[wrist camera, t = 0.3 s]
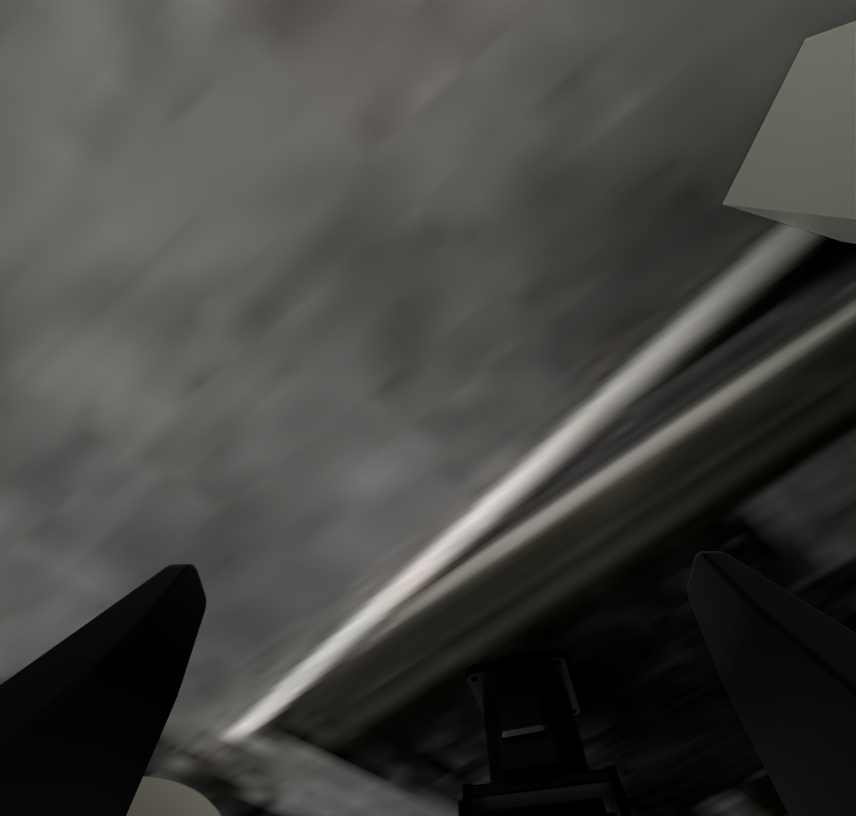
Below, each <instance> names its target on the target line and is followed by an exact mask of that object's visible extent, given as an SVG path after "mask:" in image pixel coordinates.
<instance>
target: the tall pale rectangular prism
mask: <svg viewBox="0 0 856 816" xmlns="http://www.w3.org/2000/svg"><path fill="white" fill-rule="evenodd" d="M722 204H723V205H726V206H729V207H732V208H735V209H739V210H742V211H745V212H748V213H752V214H755V215H758V216H761V217H765V218H768V219H771V220H774V221H777V222H781V223H784V224H787V225H790V226H794V227H797V228H800V229H803V230H807V231H810V232H813V233H816V234H819V235H823V236H826V237H829V238H832V239H836V240H839V241H843V242H848V243H854V244H856V21H853V22H850V23H848V24H845V25H842V26H839V27H836V28H833V29H831V30H828V31H825V32H822V33H819V34H817V35H814V36H811V37H808V38H805V40H804V42H803V44H802V46H801V48H800V50H799V52H798V54H797V56H796V58H795V60H794V62H793V64H792V66H791V68H790V70H789V72H788V74H787V76H786V78H785V80H784V82H783V84H782V86H781V88H780V90H779V92H778V94H777V96H776V98H775V100H774V102H773V104H772V106H771V108H770V110H769V112H768V114H767V116H766V118H765V120H764V122H763V124H762V126H761V128H760V130H759V132H758V134H757V136H756V138H755V140H754V142H753V144H752V146H751V148H750V150H749V152H748V154H747V156H746V158H745V160H744V162H743V164H742V166H741V168H740V170H739V171H738V173H737V175H736V177H735V179H734V181H733V183H732V185H731V187H730V189H729V191H728V193H727V195H726V197H725V199H724V201H723V203H722Z"/></svg>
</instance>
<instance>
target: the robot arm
mask: <svg viewBox="0 0 856 816" xmlns="http://www.w3.org/2000/svg"><path fill="white" fill-rule="evenodd" d="M687 592H688V597H689V601H690V603H691V606H692V608H693V611H694V613H695V616H696V619H697V621H698V624H699V626H700V629H701V631H702V634H703V636H704V639H705V641H706V644H707V646H708V649H709V651H710V654H711V657H712V659H713V662H714V664H715V667H716V669H717V672H718V674H719V676H720V679H721V681H722V683H723V686H724V688H725V690H726V692H727V694H728V696H729V698H730V700H731V702H732V704H733V706H734V708H735V710H736V712H737V714H738V716H739V718H740V720H741V722H742V724H743V726H744V728H745V730H746V732H747V734H748V736H749V738H750V740H751V742H752V743H753V745H754V747H755V749H756V751H757V753H758V755H759V757H760V759H761V761H762V763H763V765H764V767H765V769H766V771H767V773H768V775H769V777H770V779H771V781H772V783H773V785H774V787H775V788H776V790H777V792H778V794H779V796H780V798H781V800H782V802H783V804H784V806H785V808H786V810H787V812H788V814H789V816H856V633H854V632H852V631H851V630H849V629H848V628H846V627H844V626H843V625H841V624H840V623H838V622H836V621H835V620H833V619H831V618H830V617H828V616H827V615H825V614H823V613H822V612H820V611H819V610H817V609H815V608H814V607H812V606H810V605H809V604H807V603H806V602H804V601H802V600H801V599H799V598H798V597H796V596H794V595H793V594H791V593H789V592H788V591H786V590H785V589H783V588H781V587H780V586H778V585H777V584H775V583H773V582H772V581H770V580H769V579H767V578H765V577H764V576H762V575H760V574H759V573H757V572H756V571H754V570H752V569H751V568H749V567H748V566H746V565H744V564H743V563H741V562H739V561H738V560H736V559H735V558H733V557H731V556H730V555H728V554H726V553H724V552H719V551H718V552H700V553H698V554H697V555H696V557H695V560H694V563H693V567H692V571H691V574H690V578H689V582H688V586H687ZM205 609H206V595H205V592H204V589H203V586H202V583H201V580H200V577H199V574H198V571H197V569H196V567H195V566H194V565H191V564H174V565H170V566H168V567H166V568H164V569H163V570H162V571H160V572H159V573H157V574H156V575H154V576H153V577H152V578H150V579H149V580H147V581H146V582H145V583H143V584H142V585H140V586H139V587H138V588H136V589H135V590H133V591H132V592H131V593H129V594H128V595H126V596H125V597H124V598H122V599H121V600H119V601H118V602H116V603H115V604H114V605H112V606H111V607H109V608H108V609H107V610H105V611H104V612H102V613H101V614H100V615H98V616H97V617H95V618H94V619H93V620H91V621H90V622H88V623H87V624H85V625H84V626H83V627H81V628H80V629H78V630H77V631H76V632H74V633H73V634H71V635H70V636H69V637H67V638H66V639H64V640H63V641H62V642H60V643H59V644H57V645H56V646H55V647H53V648H52V649H50V650H49V651H47V652H46V653H45V654H43V655H42V656H40V657H39V658H38V659H36V660H35V661H33V662H32V663H31V664H29V665H28V666H26V667H25V668H24V669H22V670H21V671H19V672H18V673H16V674H15V675H14V676H12V677H11V678H9V679H8V680H7V681H5V682H4V683H2V684H1V685H0V816H126V814H127V812H128V810H129V808H130V805H131V803H132V801H133V798H134V796H135V793H136V791H137V789H138V787H139V784H140V782H141V780H142V777H143V775H144V773H145V770H146V768H147V766H148V763H149V761H150V759H151V757H152V754H153V752H154V750H155V747H156V745H157V743H158V740H159V738H160V736H161V733H162V731H163V729H164V726H165V724H166V722H167V719H168V717H169V715H170V712H171V710H172V708H173V705H174V703H175V700H176V698H177V695H178V692H179V689H180V687H181V684H182V681H183V678H184V675H185V672H186V668H187V665H188V662H189V659H190V656H191V653H192V650H193V647H194V643H195V640H196V637H197V634H198V631H199V628H200V625H201V622H202V619H203V615H204V612H205ZM466 675H467V682H468V684H469V686H470V688H471V690H472V693H473V695H474V697H475V699H476V701H477V703H478V706H479V708H480V710H481V712H482V714H483V716H484V719H485V729H486V739H487V749H488V759H489V769H490V779H491V783H488V784H480V785H473V784H464V785H463V799H462V800H461V801H460V802H458V813H459V816H632V813H631V810H630V807H629V804H628V801H627V799H626V796H625V793H624V790H623V787H622V784H621V781H620V779H619V776H618V773H617V770H616V767H615V766H607V767H605V769H599V770H592V771H589V769H588V765H587V761H586V757H585V754H584V750H583V746H582V742H581V739H580V735H579V731H578V727H577V724H576V720H575V716H576V715H578V714H579V713H580V708H579V704H578V701H577V698H576V694H575V691H574V688H573V684H572V681H571V678H570V675H569V671H568V668H567V665H566V661H565V658H564V655H563V653H561V652H558V651H557V652H551V653H546V654H541V655H536V656H531V657H526V658H521V659H516V660H512V661H507V662H502V663H497V664H492V665H487V666H482V667H477V668H473V669H469V670H468V671H467V673H466Z"/></svg>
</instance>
